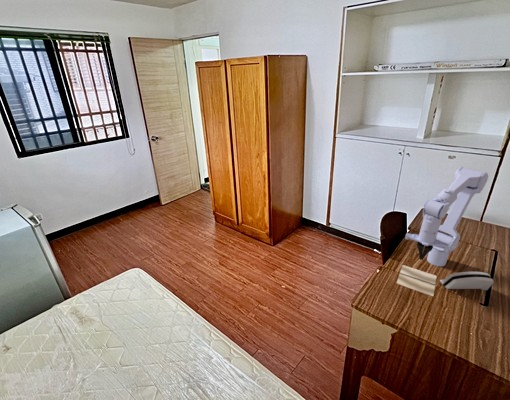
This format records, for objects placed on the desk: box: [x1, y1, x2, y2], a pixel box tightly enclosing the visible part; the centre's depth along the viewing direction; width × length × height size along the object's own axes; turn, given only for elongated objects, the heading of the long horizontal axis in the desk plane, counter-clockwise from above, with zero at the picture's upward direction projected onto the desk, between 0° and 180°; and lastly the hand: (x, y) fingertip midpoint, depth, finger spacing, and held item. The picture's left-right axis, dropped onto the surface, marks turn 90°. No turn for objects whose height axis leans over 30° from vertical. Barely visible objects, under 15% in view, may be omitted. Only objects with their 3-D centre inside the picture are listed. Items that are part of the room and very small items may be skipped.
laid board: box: [399, 264, 437, 286], centre depth 116 cm, size 7×13×1 cm, turn 55°
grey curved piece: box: [439, 271, 495, 291], centre depth 108 cm, size 17×5×10 cm, turn 89°
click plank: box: [396, 273, 436, 297], centre depth 110 cm, size 7×13×1 cm, turn 55°
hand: (421, 258), depth 112 cm, fingers closed
